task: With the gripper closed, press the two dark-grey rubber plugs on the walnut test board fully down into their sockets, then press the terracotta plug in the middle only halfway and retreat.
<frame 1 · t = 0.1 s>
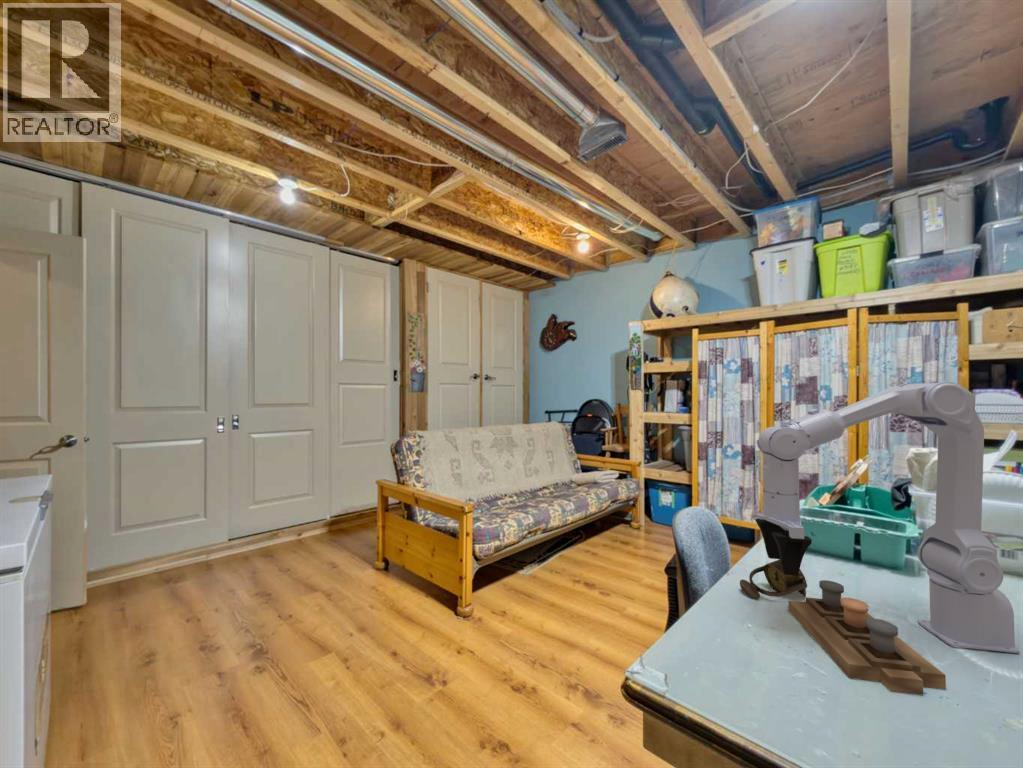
hand: (782, 565, 78), 10 cm above the table, tool pointing down, fingers open, 7 cm apart
walnut test board: (855, 643, 71), on the table
grey plug far: (831, 593, 78), point 5 cm above the table, slide at 0.0 cm
terracotta plug: (854, 612, 71), point 5 cm above the table, slide at 0.0 cm
grey plug near: (882, 636, 64), point 5 cm above the table, slide at 0.0 cm
dark brown curved piece: (770, 594, 90), on the table
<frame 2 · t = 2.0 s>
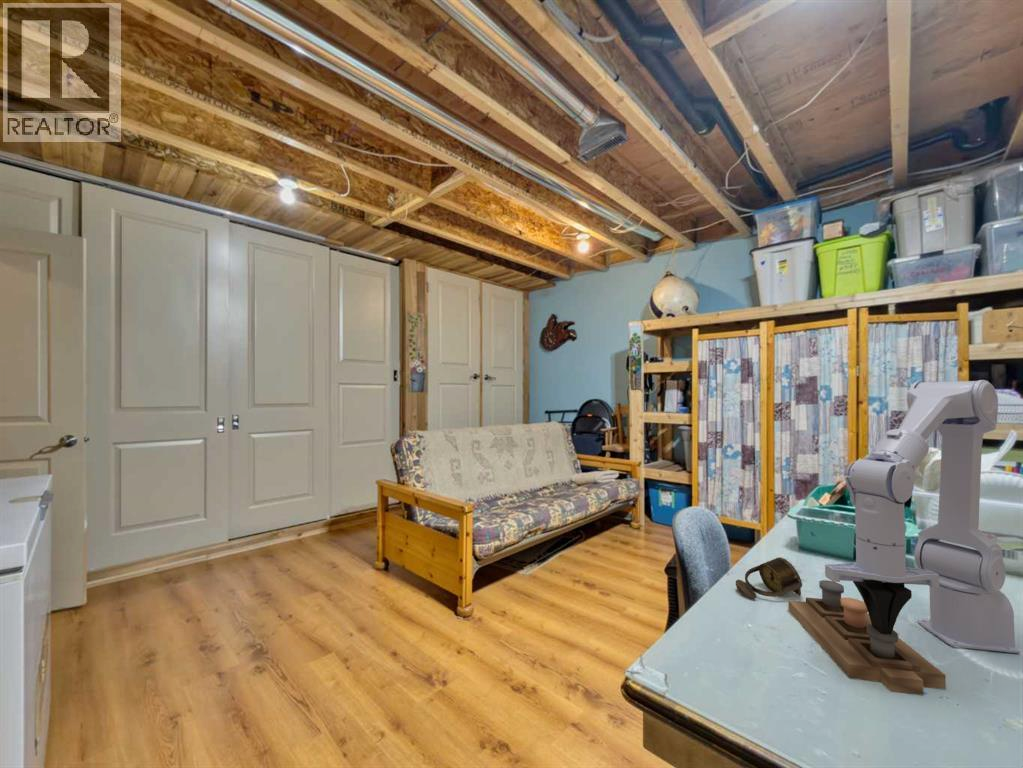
hand: (881, 630, 64), 6 cm above the table, tool pointing down, fingers closed, pressing on grey plug near
grey plug near: (882, 641, 64), point 4 cm above the table, slide at 0.9 cm, touching gripper
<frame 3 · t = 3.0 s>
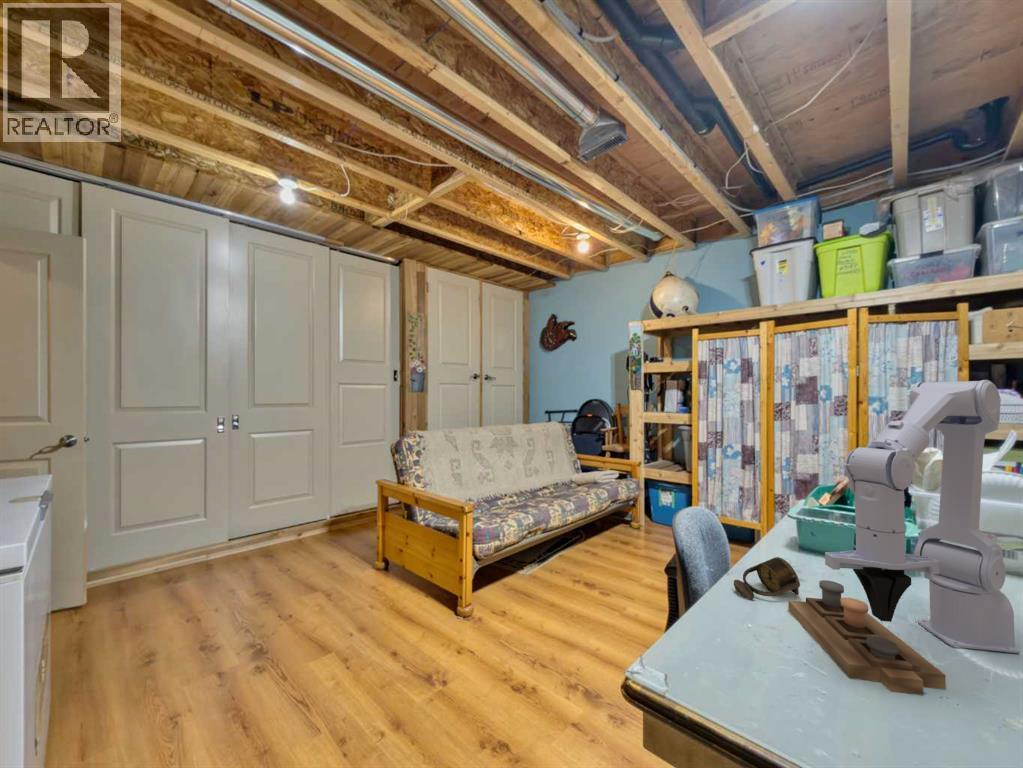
hand: (881, 618, 64), 8 cm above the table, tool pointing down, fingers closed
grey plug near: (882, 654, 64), point 2 cm above the table, slide at 2.7 cm
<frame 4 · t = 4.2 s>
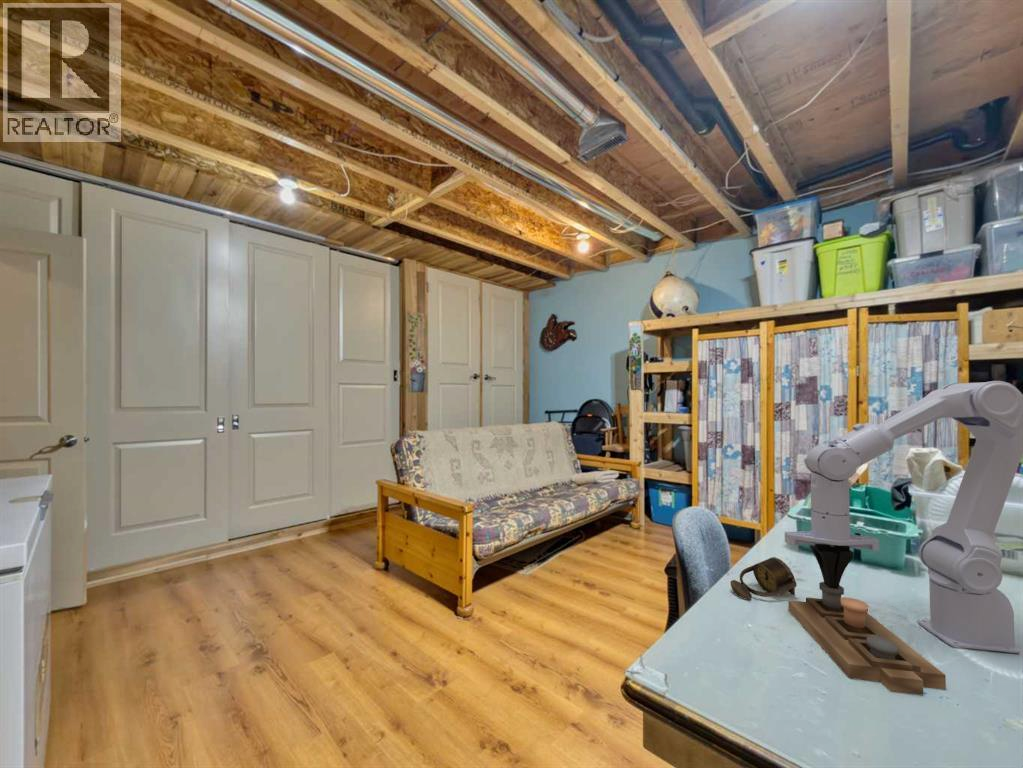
hand: (831, 586, 78), 6 cm above the table, tool pointing down, fingers closed, pressing on grey plug far
grey plug far: (831, 595, 78), point 5 cm above the table, slide at 0.3 cm, touching gripper
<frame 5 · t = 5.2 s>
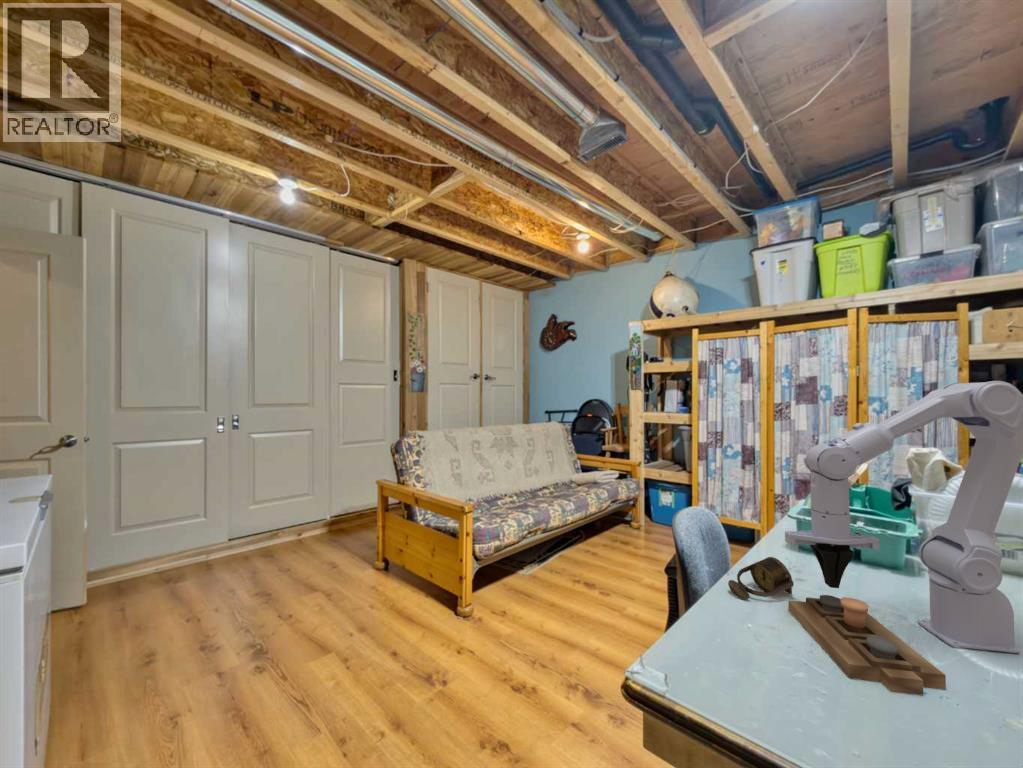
hand: (831, 585, 78), 7 cm above the table, tool pointing down, fingers closed
grey plug far: (831, 608, 78), point 2 cm above the table, slide at 2.7 cm
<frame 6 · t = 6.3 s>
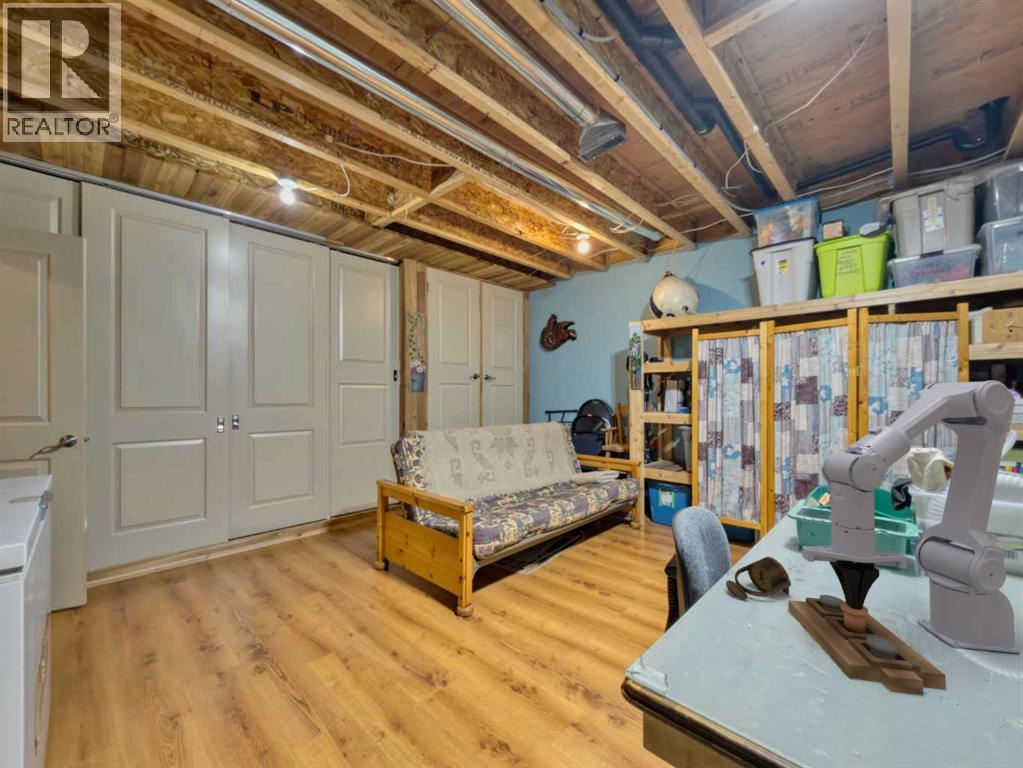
hand: (854, 606, 71), 6 cm above the table, tool pointing down, fingers closed, pressing on terracotta plug
terracotta plug: (854, 616, 71), point 4 cm above the table, slide at 0.7 cm, touching gripper
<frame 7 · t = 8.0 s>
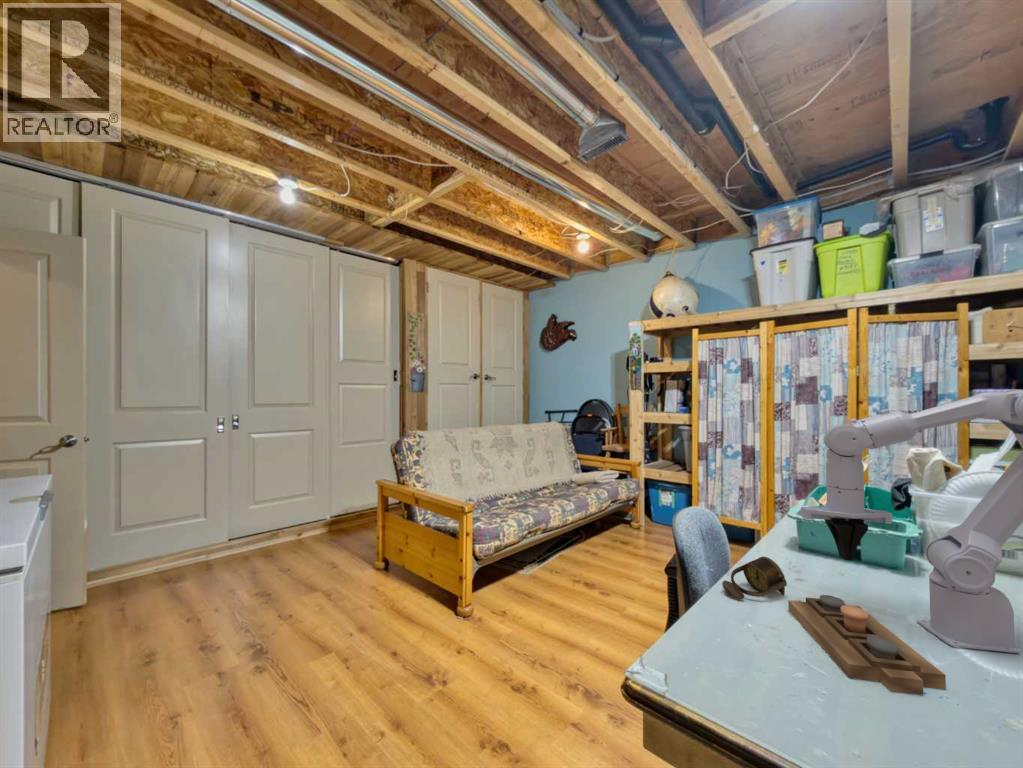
hand: (846, 558, 81), 10 cm above the table, tool pointing down, fingers closed
terracotta plug: (854, 620, 71), point 4 cm above the table, slide at 1.3 cm
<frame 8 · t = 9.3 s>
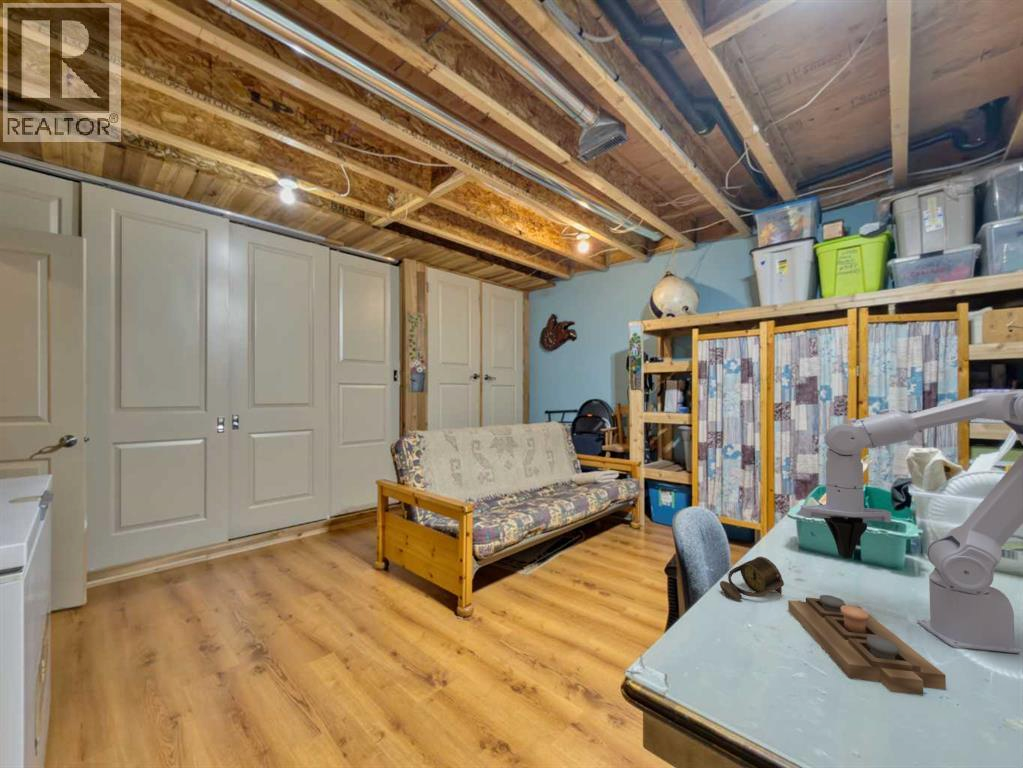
hand: (845, 556, 82), 10 cm above the table, tool pointing down, fingers closed
at the end: grey plug near slide at 2.7 cm; grey plug far slide at 2.7 cm; terracotta plug slide at 1.3 cm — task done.
